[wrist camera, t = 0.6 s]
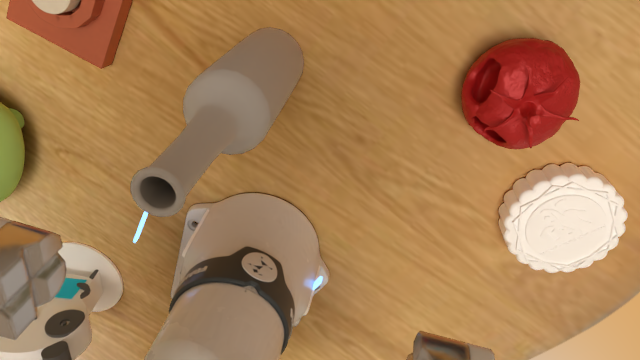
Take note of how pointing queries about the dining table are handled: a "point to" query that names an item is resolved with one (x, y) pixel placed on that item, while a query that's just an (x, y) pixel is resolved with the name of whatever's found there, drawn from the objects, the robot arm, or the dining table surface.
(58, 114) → the dining table surface
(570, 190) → the mooncake
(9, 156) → the teapot
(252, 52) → the bottle
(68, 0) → the button
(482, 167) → the dining table surface
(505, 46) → the pomegranate
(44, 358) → the panda figurine
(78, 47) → the red button base
